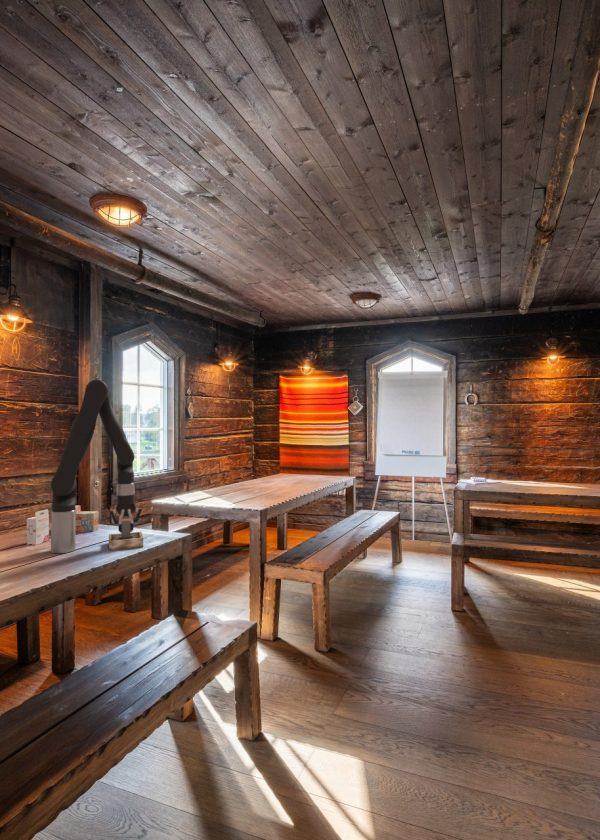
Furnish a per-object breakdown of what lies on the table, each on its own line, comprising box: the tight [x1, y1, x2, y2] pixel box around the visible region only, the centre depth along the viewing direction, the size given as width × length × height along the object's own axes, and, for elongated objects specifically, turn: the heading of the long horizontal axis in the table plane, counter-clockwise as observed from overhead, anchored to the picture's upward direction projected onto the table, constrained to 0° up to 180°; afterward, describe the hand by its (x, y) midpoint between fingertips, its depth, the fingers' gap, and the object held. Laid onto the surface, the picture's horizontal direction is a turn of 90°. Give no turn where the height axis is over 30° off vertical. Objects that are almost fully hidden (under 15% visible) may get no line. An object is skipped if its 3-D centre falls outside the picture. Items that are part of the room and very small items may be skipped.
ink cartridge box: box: [26, 508, 50, 546], centre depth 221 cm, size 9×5×15 cm, turn 168°
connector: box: [121, 516, 131, 538], centre depth 216 cm, size 4×4×9 cm
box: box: [108, 531, 144, 551], centre depth 216 cm, size 14×14×4 cm
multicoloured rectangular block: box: [50, 505, 100, 533], centre depth 246 cm, size 21×6×12 cm, turn 89°
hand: (126, 531), depth 216 cm, fingers closed on connector, 3 cm apart
